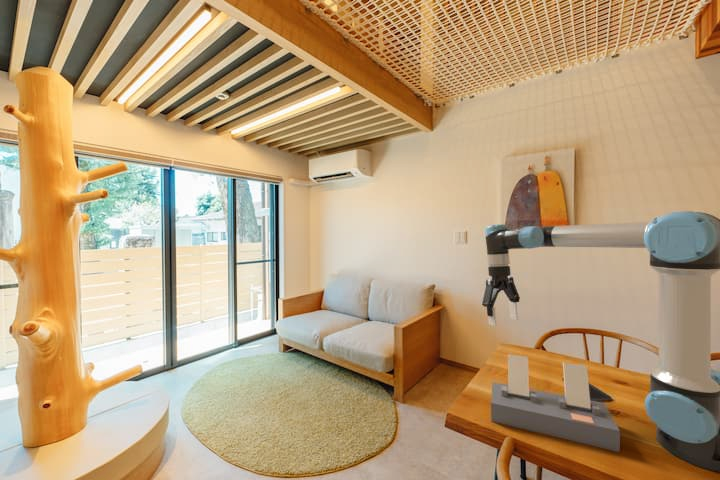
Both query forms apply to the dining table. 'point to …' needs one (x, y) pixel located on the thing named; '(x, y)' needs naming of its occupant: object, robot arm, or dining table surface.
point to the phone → (597, 394)
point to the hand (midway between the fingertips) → (503, 322)
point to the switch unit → (555, 417)
